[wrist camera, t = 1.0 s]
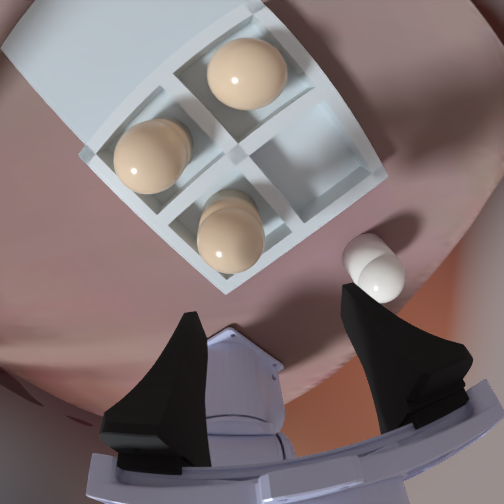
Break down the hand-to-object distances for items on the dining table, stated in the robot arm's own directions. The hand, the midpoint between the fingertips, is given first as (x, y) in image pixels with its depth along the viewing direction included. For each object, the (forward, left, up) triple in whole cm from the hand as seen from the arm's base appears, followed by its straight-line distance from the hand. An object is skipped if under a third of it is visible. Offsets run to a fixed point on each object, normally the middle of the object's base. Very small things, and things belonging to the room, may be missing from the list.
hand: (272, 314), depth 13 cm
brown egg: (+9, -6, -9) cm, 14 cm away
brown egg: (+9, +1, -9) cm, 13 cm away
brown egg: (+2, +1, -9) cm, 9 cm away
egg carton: (+13, -3, -10) cm, 16 cm away
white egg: (-8, -6, -10) cm, 14 cm away
